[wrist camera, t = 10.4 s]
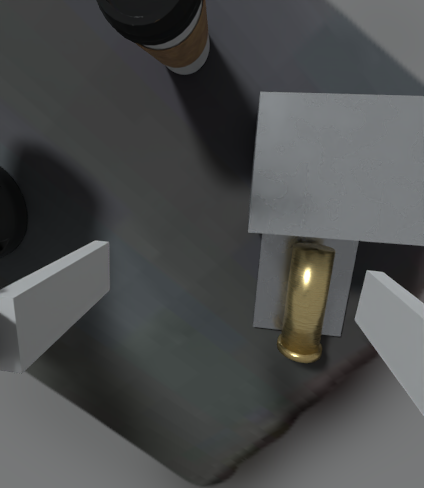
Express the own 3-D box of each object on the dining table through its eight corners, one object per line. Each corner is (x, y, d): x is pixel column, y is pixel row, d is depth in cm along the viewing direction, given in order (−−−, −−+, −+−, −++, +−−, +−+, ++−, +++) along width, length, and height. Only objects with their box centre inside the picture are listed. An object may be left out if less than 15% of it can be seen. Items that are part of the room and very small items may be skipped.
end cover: (275, 334, 41) (279, 359, 36) (286, 240, 37) (293, 252, 32) (315, 339, 40) (326, 365, 35) (331, 243, 37) (345, 257, 31)
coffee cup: (232, 64, 34) (219, -11, 19) (168, 99, 35) (114, 54, 21) (202, -12, 32) (163, -157, 18) (137, 28, 34) (54, -73, 19)
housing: (239, 322, 42) (235, 375, 32) (256, 114, 35) (260, 91, 24) (353, 335, 40) (390, 395, 30) (398, 119, 33) (469, 97, 22)
